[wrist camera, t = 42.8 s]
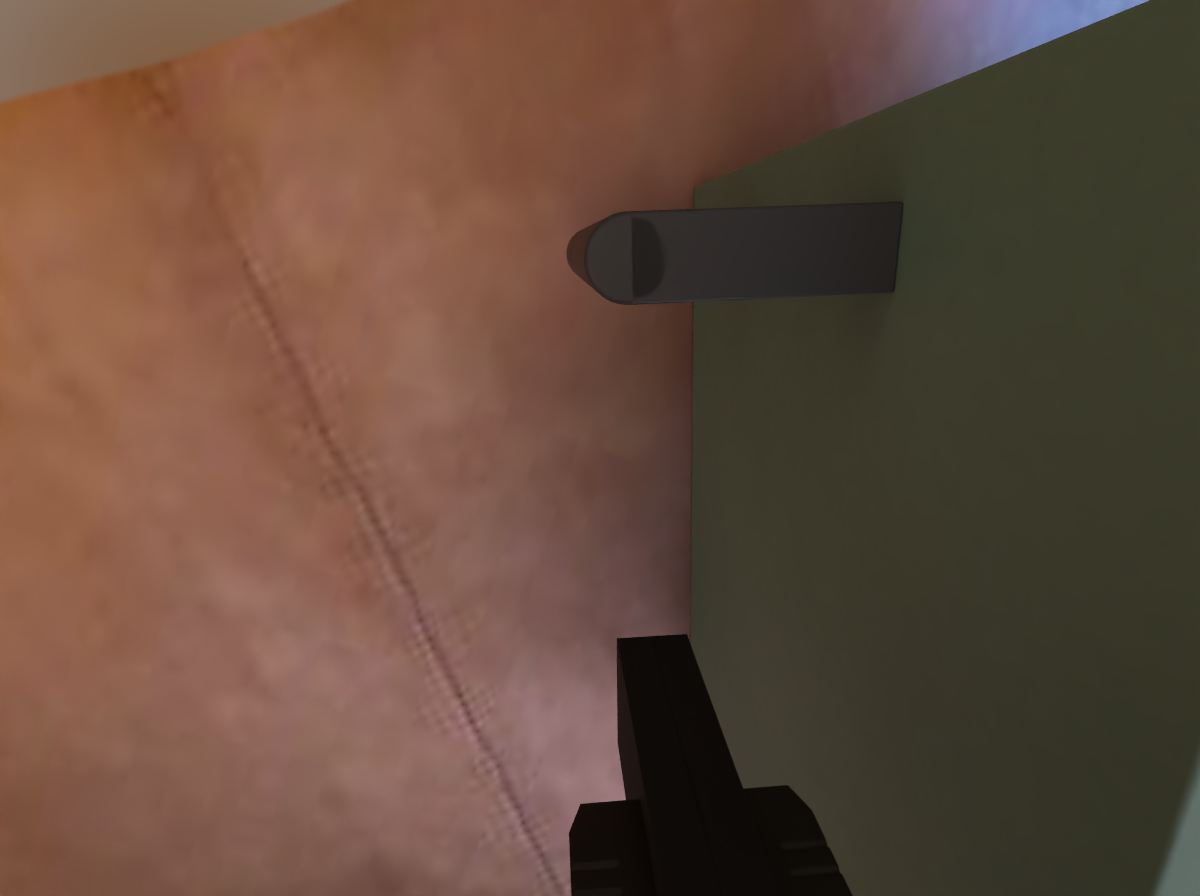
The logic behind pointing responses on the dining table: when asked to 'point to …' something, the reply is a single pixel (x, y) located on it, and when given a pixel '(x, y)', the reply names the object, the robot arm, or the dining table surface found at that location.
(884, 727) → the cupboard door
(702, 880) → the robot arm
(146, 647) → the dining table surface
